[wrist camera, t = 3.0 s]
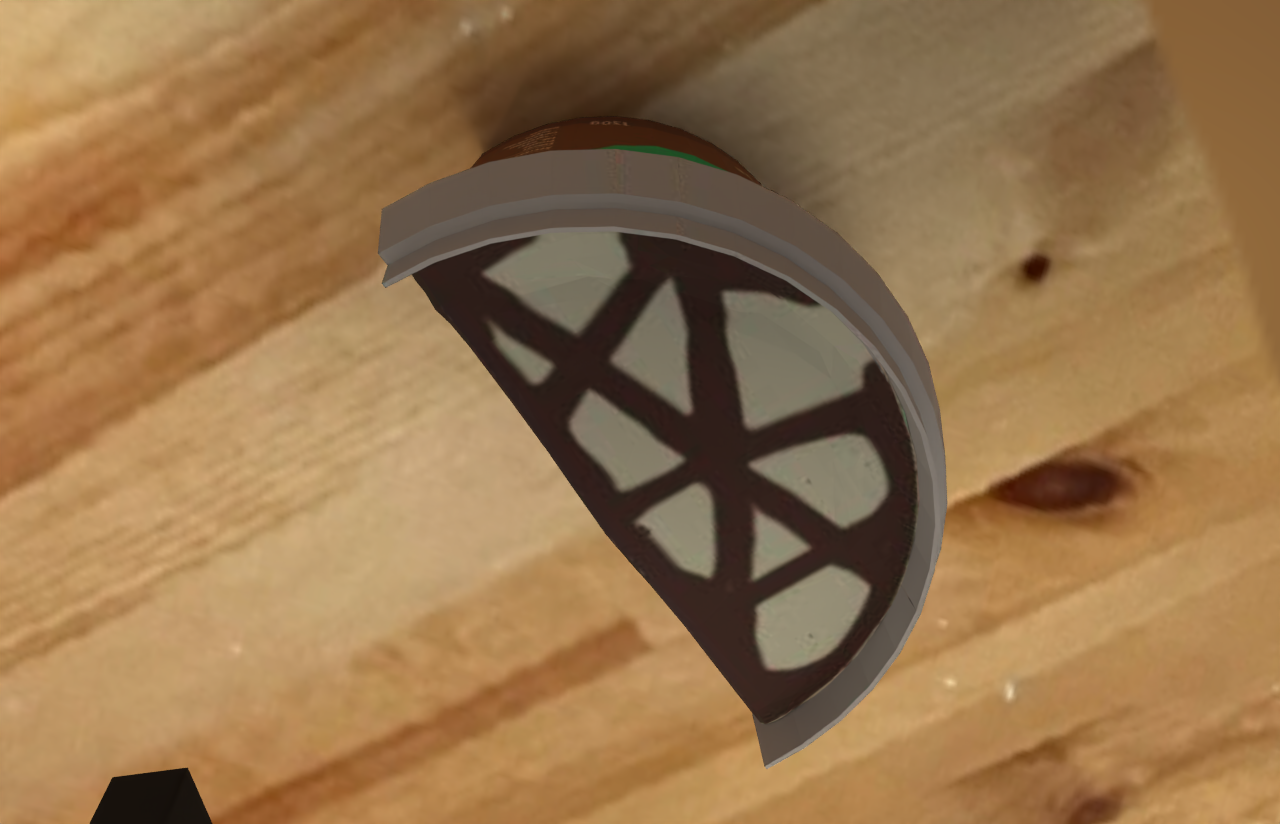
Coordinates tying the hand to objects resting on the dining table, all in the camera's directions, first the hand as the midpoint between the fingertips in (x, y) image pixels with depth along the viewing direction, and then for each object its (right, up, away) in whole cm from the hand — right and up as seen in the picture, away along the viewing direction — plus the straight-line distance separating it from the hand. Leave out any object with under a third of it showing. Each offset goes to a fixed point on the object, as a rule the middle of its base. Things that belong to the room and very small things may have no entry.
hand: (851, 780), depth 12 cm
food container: (-1, +8, +15) cm, 17 cm away
